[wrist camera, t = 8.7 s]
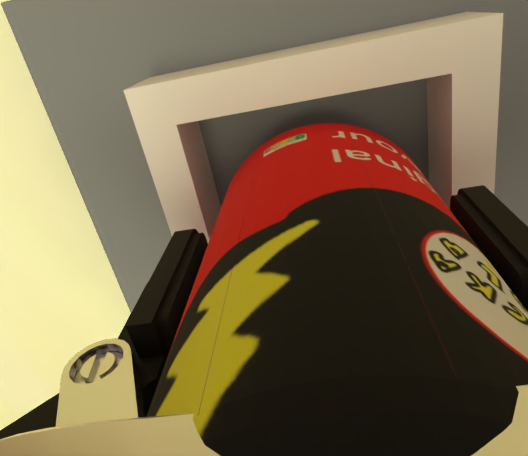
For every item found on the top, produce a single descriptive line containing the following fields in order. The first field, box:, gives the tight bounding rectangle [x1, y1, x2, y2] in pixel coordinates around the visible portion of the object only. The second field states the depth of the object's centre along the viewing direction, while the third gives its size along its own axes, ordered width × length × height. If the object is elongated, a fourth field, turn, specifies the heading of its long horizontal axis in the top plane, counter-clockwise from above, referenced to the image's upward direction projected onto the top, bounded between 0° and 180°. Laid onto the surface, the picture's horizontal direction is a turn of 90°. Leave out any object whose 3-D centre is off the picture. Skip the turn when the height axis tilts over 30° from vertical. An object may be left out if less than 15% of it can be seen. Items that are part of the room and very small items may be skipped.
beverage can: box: [146, 123, 528, 456], centre depth 9 cm, size 6×6×12 cm
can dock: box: [1, 0, 528, 313], centre depth 15 cm, size 18×16×3 cm
